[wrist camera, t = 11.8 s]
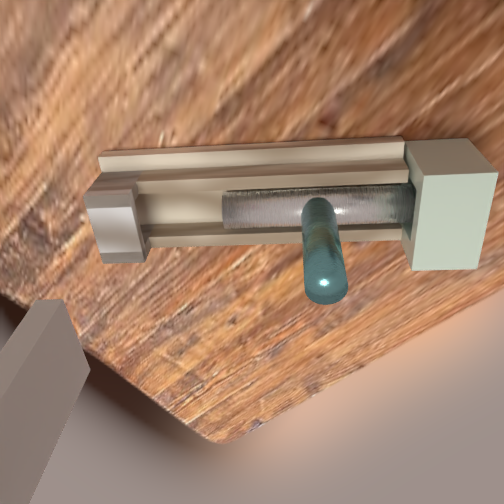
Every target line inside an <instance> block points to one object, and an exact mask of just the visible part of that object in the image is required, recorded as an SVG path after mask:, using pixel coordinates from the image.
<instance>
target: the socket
mask: <svg viewBox="0 0 504 504" xmlns="http://www.w3.org/2000/svg"><path fill="white" fill-rule="evenodd" d="M404 142H405V144H404V153H403V159H404V161H405V163H406V165H407V167H408V169H409V174H408V183H400V185H405V184H414V186H415V188H416V190H417V193H416V201H415V209H414V217H413V222H411V223H400V224H401V226H402V237H401V240H400V241H401V244H402V246H403V249H404V252H405V254H406V257H407V260H408V262H409V265H410V268H411V270H412V271H418V270H457V269H477V266H478V262H479V258H480V253H481V249H482V244H483V240H484V235H485V231H486V226H487V222H488V217H489V213H490V208H491V204H492V199H493V195H494V191H495V186H496V182H497V177H498V173H499V172H498V171H497V170H496V169H495V168H494V167H493V166H492V165H491V164H490V163H489V161H488V160H487V159H486V158H485V157H484V156H483V155H482V154H481V153H480V151H479V150H478V149H477V148H476V147H475V146H474V145H473V144H472V143H471V142H470V140H469V139H468V138H457V139H437V140H417V141H404Z"/></svg>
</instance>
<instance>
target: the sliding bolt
mask: <svg viewBox="0 0 504 504" xmlns="http://www.w3.org/2000/svg"><path fill="white" fill-rule="evenodd" d="M416 193H417V190H416V188H415V186H414V184H405V185H381V186H357V187H333V188H310V189H286V190H262V191H238V192H223V194H222V220H223V226H224V228H225V229H239V228H268V227H296V226H302V245H303V265H304V284H305V293H306V295H307V296H308V298H309V299H310V300H312V301H313V302H315V303H318V304H323V305H328V304H333V303H336V302H338V301H340V300H341V299H343V298H344V296H345V295H346V293H347V291H348V282H347V277H346V271H345V265H344V260H343V254H342V248H341V243H340V237H339V231H338V226H337V225H354V224H383V223H411V222H413V217H414V209H415V201H416Z"/></svg>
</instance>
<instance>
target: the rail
mask: <svg viewBox="0 0 504 504" xmlns="http://www.w3.org/2000/svg"><path fill="white" fill-rule="evenodd" d="M404 144H405V142H404V140H403V138H402V136H391V137H371V138H352V139H332V140H313V141H294V142H274V143H255V144H235V145H216V146H196V147H177V148H157V149H138V150H118V151H103V152H102V153H101V154H100V155H99V157H98V160H99V164H100V167H101V171H102V173H101V174H100V175H99V177H98V178H97V179H96V180H95V182H94V183H93V184H92V185H91V187H90V188H89V189H88V190H87V192H86V193H85V194H84V196H83V199H84V202H85V205H86V208H87V212H88V215H89V218H90V222H91V225H92V228H93V232H94V235H95V238H96V242H97V245H98V248H99V252H100V255H101V258H102V262H103V264H107V263H142V262H145V261H146V258H147V256H148V254H149V252H150V249H151V248H160V247H192V246H224V245H255V244H287V243H302V226H296V227H268V228H239V229H225V228H224V226H223V220H222V194H223V192H238V191H262V190H286V189H310V188H333V187H357V186H381V185H400V183H408V174H409V169H408V167H407V165H406V163H405V161H404V159H403V153H404ZM337 226H338V231H339V237H340V242H350V241H382V240H401V237H402V226H401V224H400V223H383V224H354V225H337Z"/></svg>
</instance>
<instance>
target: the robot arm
mask: <svg viewBox="0 0 504 504" xmlns="http://www.w3.org/2000/svg"><path fill="white" fill-rule="evenodd" d="M89 372H90V368H89V365H88V363H87V360H86V358H85V355H84V353H83V350H82V347H81V345H80V342H79V340H78V337H77V334H76V332H75V329H74V327H73V324H72V322H71V319H70V316H69V314H68V311H67V309H66V306H65V304H64V301H63V299H57V300H36V301H35V302H34V304H33V305H32V307H31V308H30V310H29V311H28V313H27V314H26V315H25V317H24V318H23V320H22V321H21V323H20V324H19V326H18V327H17V328H16V330H15V331H14V333H13V334H12V336H11V337H10V338H9V340H8V341H7V343H6V344H5V346H4V347H3V349H2V350H1V352H0V504H29V503H30V500H31V498H32V496H33V494H34V492H35V489H36V487H37V485H38V483H39V481H40V479H41V476H42V474H43V472H44V470H45V468H46V466H47V463H48V461H49V459H50V457H51V454H52V452H53V450H54V448H55V446H56V444H57V441H58V439H59V437H60V435H61V433H62V431H63V428H64V426H65V424H66V422H67V420H68V417H69V415H70V413H71V411H72V409H73V407H74V404H75V402H76V400H77V398H78V395H79V393H80V391H81V389H82V387H83V385H84V382H85V380H86V378H87V376H88V373H89Z"/></svg>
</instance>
